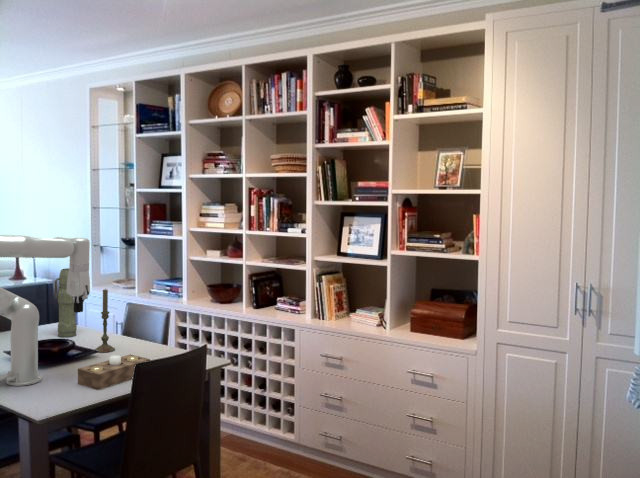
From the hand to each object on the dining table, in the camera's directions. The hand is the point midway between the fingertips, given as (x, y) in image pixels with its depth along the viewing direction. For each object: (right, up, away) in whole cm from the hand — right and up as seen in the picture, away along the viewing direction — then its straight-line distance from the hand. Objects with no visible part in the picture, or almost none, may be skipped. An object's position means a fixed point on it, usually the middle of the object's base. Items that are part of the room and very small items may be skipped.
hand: (78, 311), depth 237 cm
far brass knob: (+21, -25, +4) cm, 33 cm away
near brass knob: (+12, -26, -12) cm, 31 cm away
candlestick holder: (-3, -23, +36) cm, 43 cm away
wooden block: (+17, -27, -4) cm, 32 cm away
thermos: (-32, -20, +62) cm, 72 cm away
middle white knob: (+17, -23, -4) cm, 29 cm away
